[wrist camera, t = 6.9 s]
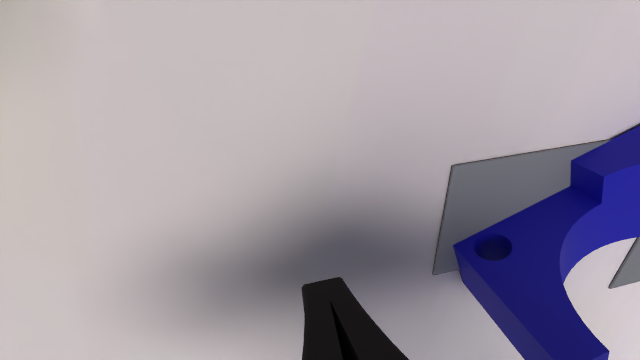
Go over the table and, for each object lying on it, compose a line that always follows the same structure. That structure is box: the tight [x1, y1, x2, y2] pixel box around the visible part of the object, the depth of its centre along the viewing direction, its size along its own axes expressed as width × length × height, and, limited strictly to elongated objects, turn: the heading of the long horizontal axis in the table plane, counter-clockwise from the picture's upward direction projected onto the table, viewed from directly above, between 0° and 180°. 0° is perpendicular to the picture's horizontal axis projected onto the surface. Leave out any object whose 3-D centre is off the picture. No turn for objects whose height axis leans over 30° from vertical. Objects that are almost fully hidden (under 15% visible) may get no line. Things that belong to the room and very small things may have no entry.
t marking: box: [433, 139, 640, 289], centre depth 16 cm, size 16×17×1 cm
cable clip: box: [453, 126, 640, 360], centre depth 13 cm, size 12×4×6 cm, turn 114°
